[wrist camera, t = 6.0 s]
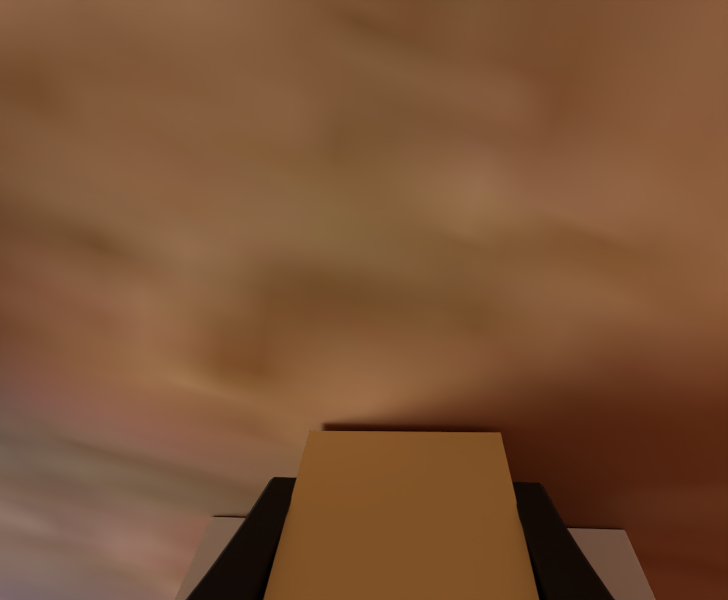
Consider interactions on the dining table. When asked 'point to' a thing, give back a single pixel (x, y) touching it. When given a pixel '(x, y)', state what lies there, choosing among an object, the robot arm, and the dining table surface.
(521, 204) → the dining table surface
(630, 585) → the housing
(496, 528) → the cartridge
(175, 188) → the dining table surface
